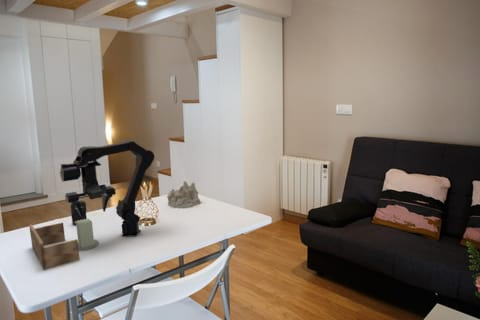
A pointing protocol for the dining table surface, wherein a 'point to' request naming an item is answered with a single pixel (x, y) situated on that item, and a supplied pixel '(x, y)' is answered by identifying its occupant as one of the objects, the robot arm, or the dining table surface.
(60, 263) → the open box
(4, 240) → the dining table surface
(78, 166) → the robot arm
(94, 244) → the grey mat
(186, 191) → the miniature castle
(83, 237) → the block
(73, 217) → the battery charger
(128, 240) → the dining table surface
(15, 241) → the dining table surface
